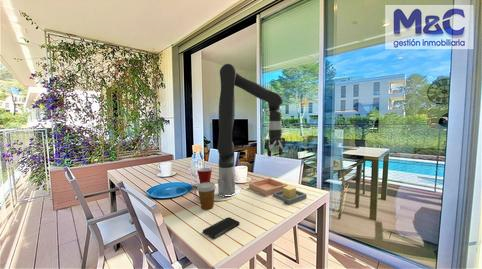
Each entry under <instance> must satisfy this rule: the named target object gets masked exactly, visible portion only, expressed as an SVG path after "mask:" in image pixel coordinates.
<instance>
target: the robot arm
mask: <svg viewBox="0 0 482 269" xmlns="http://www.w3.org/2000/svg"><path fill="white" fill-rule="evenodd" d="M219 77H220V78H219V80H220V93H219V100H218V101H219V102H218V128H219V129H218V130H219V131H218V140H217V149H216V150H217V151H218V152H217V153H218V177H219V178H217V189H218V190H217V191H218V192H217V194H218V195H219V194H220V195H222V196H225V195H232V194H234V193H235V194H236V178H235V144H234V141H233V128H234V122H235V116H236V115H235V114H236V113H235V112H236V102H235V87H238V88H239V89H242V90H243V91H245V92H247V93H248V94H250V95H252V96H253V97H255V98H258V99H259V100H261V101H265V102H267V103H268V104H267V105H268V111H269V115H268V118H269V119H268V121H269V122H268V137H269V138H268V139H267V138H265V139H264V149H265V150H267V153H266V155H267V156H268V157H269V158H271V157H272V149H273V148H274V147H276V146H277V147H278V155H279V156H282V155H283V149H285V148H286V137H282V132H283V129H282V128H283V126H282V111H281V108H280V106H281V105H282V104H283V103H284V102H283V101H284V100H283V97H282V96H281V95H280V94H279V93H277V92H275V91H272V90H270V89H268V88H266V87H265V86H263V85H261V84H259V83H258V82H255V81H253V80H250V79H247V78H245V77H243V76H242V75H240V74H239V73H237V69H236V68H235V66H234V65H232V64H230V63H226V64H225V63H224V64H223V65H222V66H221V67H220V69H219ZM220 195H219V196H220ZM222 196H221V197H222Z"/></svg>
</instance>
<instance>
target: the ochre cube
mask: <svg viewBox="0 0 482 269" xmlns="http://www.w3.org/2000/svg"><path fill="white" fill-rule="evenodd" d="M296 190H297V188H296V187H295V186H292V185H288V186H286V187H283V196H284V197H287V198H289V199H290V198H293V197H296Z"/></svg>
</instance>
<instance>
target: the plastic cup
mask: <svg viewBox="0 0 482 269" xmlns="http://www.w3.org/2000/svg"><path fill="white" fill-rule="evenodd" d="M196 172H197V176H198V180H199V181H198V182H199V184H200V183H204V182H211V177H212V172H213V167H201V168H197V169H196Z"/></svg>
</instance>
